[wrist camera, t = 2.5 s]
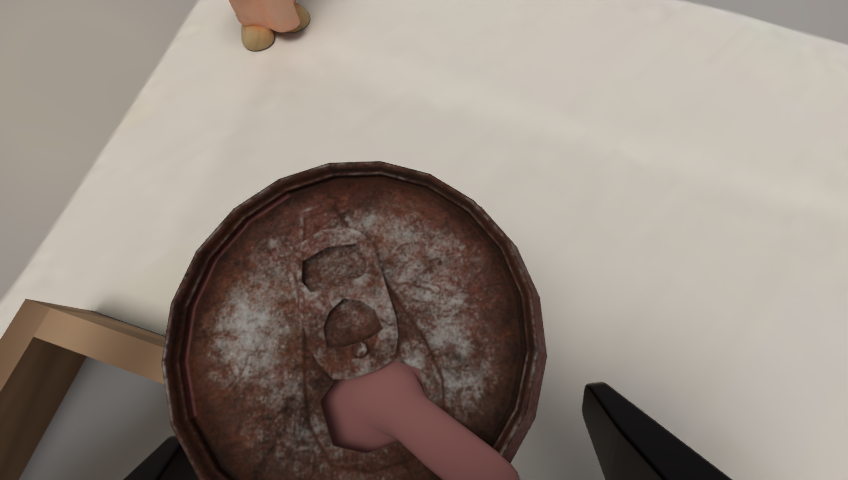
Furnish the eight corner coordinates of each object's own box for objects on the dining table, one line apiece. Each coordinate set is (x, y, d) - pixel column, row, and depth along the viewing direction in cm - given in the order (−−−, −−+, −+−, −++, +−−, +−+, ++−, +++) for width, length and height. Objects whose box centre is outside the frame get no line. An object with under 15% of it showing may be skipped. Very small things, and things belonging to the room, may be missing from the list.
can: (425, 463, 18) (414, 739, 4) (314, 374, 19) (38, 380, 6) (499, 345, 19) (658, 285, 6) (391, 270, 20) (321, 79, 7)
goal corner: (298, 383, 19) (270, 385, 15) (185, 672, 16) (119, 754, 12) (93, 311, 20) (25, 298, 17) (-52, 566, 17) (-171, 614, 13)
